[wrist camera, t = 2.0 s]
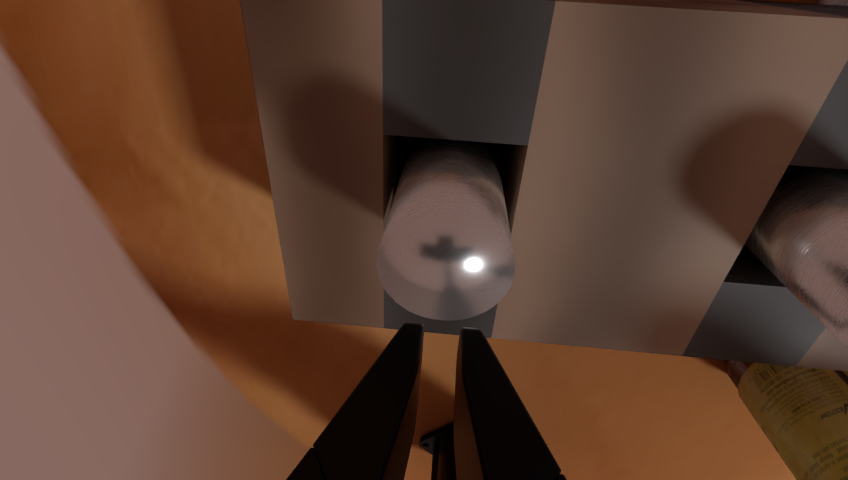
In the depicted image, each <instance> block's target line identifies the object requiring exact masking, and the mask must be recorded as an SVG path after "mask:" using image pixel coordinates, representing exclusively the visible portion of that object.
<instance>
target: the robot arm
mask: <svg viewBox="0 0 848 480" xmlns="http://www.w3.org/2000/svg"><path fill="white" fill-rule="evenodd" d="M423 336H424V325H423V324H422V323H414V322H405V323H404V324H403V325H402V326H401V328H400V329H399V330H398V332H397V333H396V334H395V336H394V337H393V338H392V340H391V341H390V342H389V344H388V345H387V346H386V348H385V349H384V350H383V352H382V353H381V354H380V356H379V357H378V358H377V360H376V361H375V362H374V364H373V365H372V366H371V368H370V369H369V371H368V372H367V373H366V375H365V376H364V377H363V379H362V380H361V381H360V383H359V384H358V385H357V387H356V388H355V389H354V391H353V392H352V393H351V395H350V396H349V397H348V399H347V400H346V401H345V403H344V404H343V405H342V407H341V408H340V409H339V411H338V412H337V413H336V415H335V416H334V417H333V419H332V420H331V421H330V423H329V424H328V425H327V427H326V428H325V429H324V431H323V432H322V433H321V435H320V436H319V437H318V439H317V440H316V441H315V443H314V444H313V448H310V449H309V451H308V452H307V453H306V455H305V456H304V457H303V459H302V460H301V461H300V463H299V464H298V465H297V466H296V468H295V469H294V470H293V472H292V473H291V474H290V475H289V476H288V478H287V479H286V480H404V476H405V472H406V467H407V462H408V458H409V453H410V449H411V444H412V440H413V435H414V429H415V422H416V414H417V404H418V393H419V383H420V373H421V363H422V351H423ZM419 444H420V446H421V447H422V448H423V449H425V450H426V451H428V452H429V453H431V454H432V455H433V459H432V474H431V480H566V478H565V476H564V475H563V474H560V473H561V469H560V468H559V466H558V464H557V462H556V461H555V459H554V457H553V455H552V454H551V452H550V450H549V448H548V447H547V445H546V443H545V441H544V439H543V438H542V436H541V434H540V432H539V431H538V429H537V427H536V425H535V424H534V422H533V420H532V418H531V417H530V415H529V413H528V411H527V410H526V408H525V406H524V404H523V403H522V401H521V399H520V397H519V396H518V394H517V392H516V390H515V389H514V387H513V385H512V383H511V382H510V380H509V378H508V376H507V374H506V373H505V371H504V369H503V367H502V366H501V364H500V362H499V360H498V359H497V357H496V355H495V353H494V352H493V350H492V348H491V346H490V345H489V343H488V341H487V339H486V338H485V336H484V334H483V332H482V331H481V330H480V329H478V328H469V327H463V328H462V329H461V330H460V337H459V344H458V352H457V362H456V383H455V404H454V422H453V423H451V424H449V425H447V426H445V427H442V428H440V429H438V430H436V431H434V432H431V433H429V434H427V435H425V436H423V437H421V438H420V443H419Z"/></svg>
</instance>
